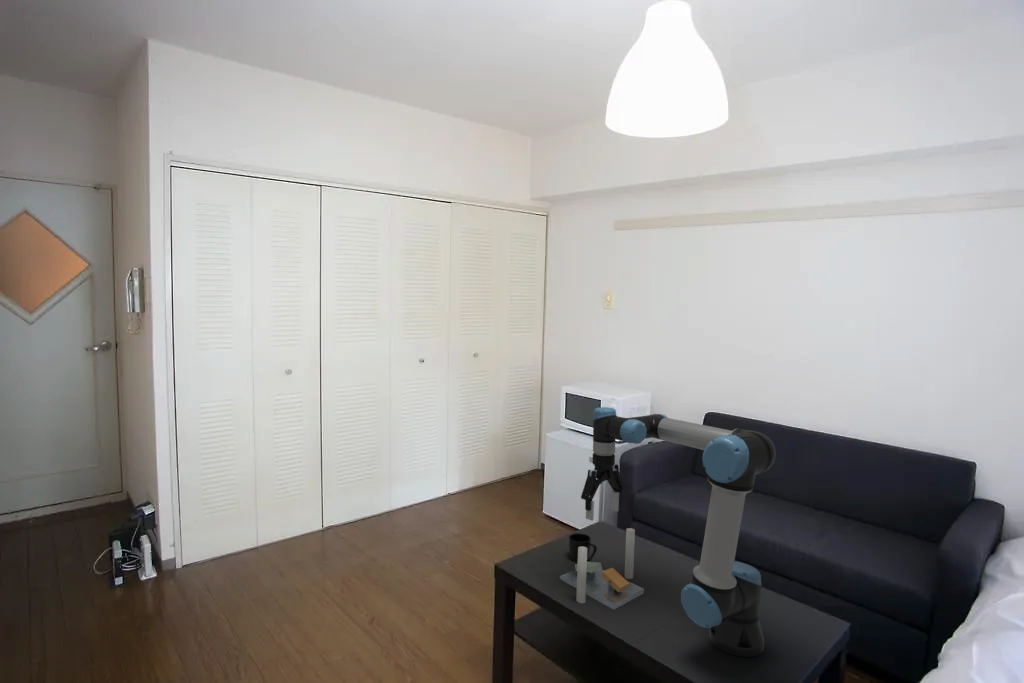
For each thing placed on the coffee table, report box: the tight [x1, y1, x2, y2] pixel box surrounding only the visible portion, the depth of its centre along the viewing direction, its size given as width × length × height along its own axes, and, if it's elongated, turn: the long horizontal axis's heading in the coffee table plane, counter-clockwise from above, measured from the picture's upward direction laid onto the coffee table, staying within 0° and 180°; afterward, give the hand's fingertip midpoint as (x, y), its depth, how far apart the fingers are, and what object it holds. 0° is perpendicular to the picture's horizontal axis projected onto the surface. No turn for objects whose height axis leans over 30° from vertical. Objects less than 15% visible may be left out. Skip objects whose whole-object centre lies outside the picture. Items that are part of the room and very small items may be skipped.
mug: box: [568, 533, 598, 563], centre depth 214 cm, size 8×12×10 cm
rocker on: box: [574, 561, 603, 573], centre depth 200 cm, size 8×6×2 cm
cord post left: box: [575, 546, 588, 604], centre depth 185 cm, size 3×3×18 cm
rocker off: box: [601, 567, 630, 593], centre depth 191 cm, size 8×6×2 cm
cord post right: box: [624, 527, 636, 580], centre depth 202 cm, size 3×3×18 cm
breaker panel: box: [559, 568, 645, 610], centre depth 195 cm, size 24×16×4 cm, turn 41°
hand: (602, 514), depth 193 cm, fingers open, 13 cm apart
